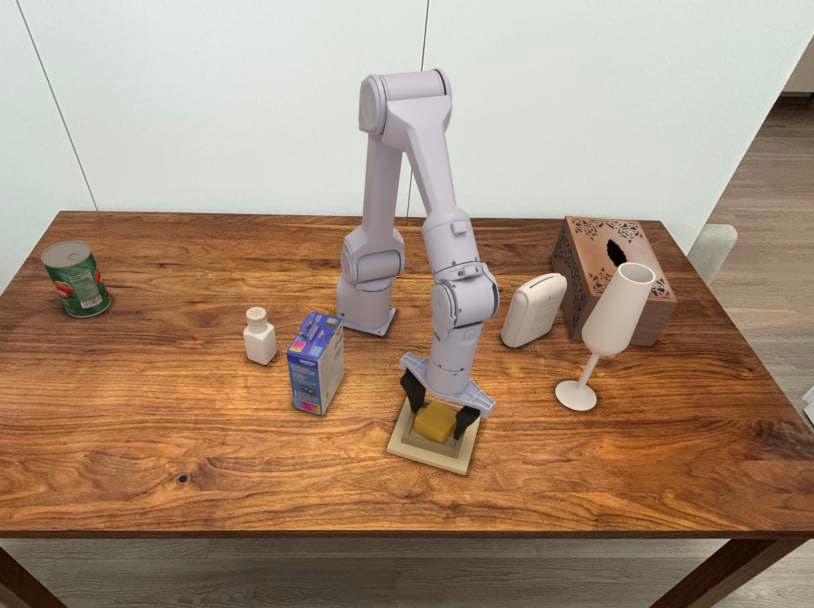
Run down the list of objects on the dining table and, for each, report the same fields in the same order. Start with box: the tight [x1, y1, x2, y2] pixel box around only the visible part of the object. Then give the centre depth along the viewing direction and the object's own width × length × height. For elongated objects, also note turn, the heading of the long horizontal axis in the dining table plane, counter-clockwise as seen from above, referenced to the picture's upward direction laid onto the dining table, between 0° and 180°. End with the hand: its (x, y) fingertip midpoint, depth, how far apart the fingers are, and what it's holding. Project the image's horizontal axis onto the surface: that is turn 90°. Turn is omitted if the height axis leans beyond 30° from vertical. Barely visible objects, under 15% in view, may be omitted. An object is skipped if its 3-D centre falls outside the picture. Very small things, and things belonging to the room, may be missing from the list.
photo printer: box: [500, 272, 567, 349], centre depth 93 cm, size 10×4×12 cm, turn 123°
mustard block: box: [413, 398, 457, 444], centre depth 80 cm, size 5×5×3 cm
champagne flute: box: [554, 263, 655, 412], centre depth 79 cm, size 7×7×24 cm
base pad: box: [385, 395, 482, 476], centre depth 81 cm, size 12×12×2 cm
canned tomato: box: [40, 240, 112, 319], centre depth 95 cm, size 8×8×11 cm
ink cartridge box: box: [285, 311, 345, 417], centre depth 82 cm, size 10×6×14 cm, turn 161°
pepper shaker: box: [242, 306, 278, 366], centre depth 88 cm, size 4×4×10 cm
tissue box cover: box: [550, 215, 679, 347], centre depth 102 cm, size 26×14×10 cm, turn 175°
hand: (437, 421), depth 80 cm, fingers open, 7 cm apart
